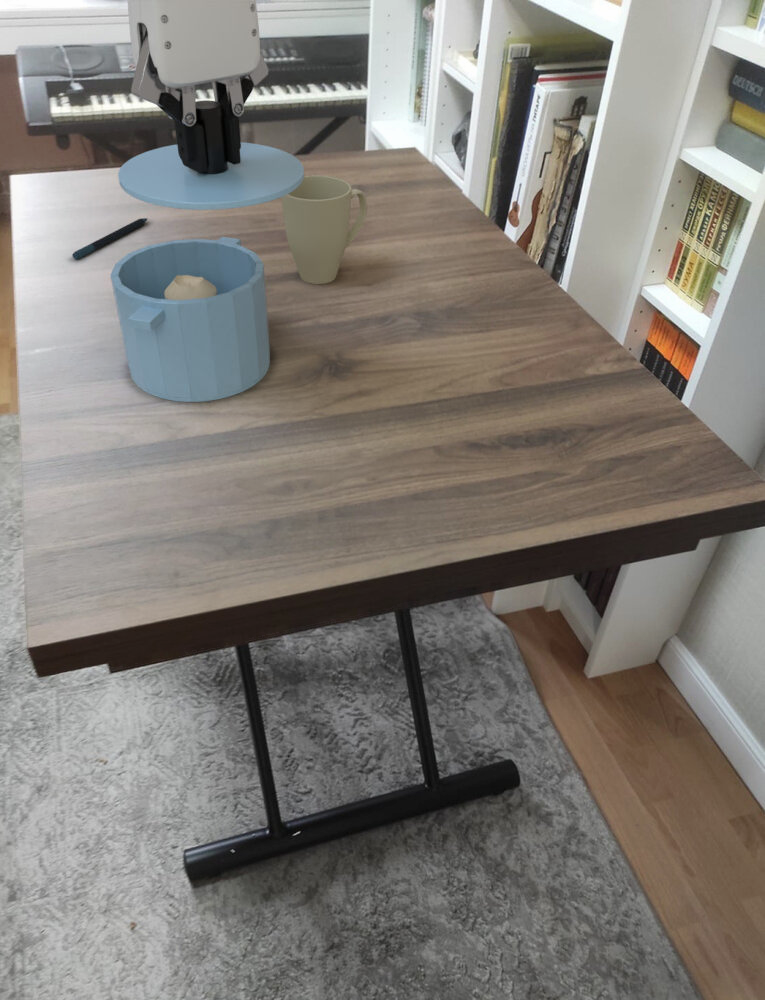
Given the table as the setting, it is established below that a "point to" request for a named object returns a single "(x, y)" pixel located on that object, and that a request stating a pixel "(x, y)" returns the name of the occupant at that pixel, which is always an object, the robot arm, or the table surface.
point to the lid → (211, 172)
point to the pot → (193, 319)
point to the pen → (108, 238)
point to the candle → (189, 288)
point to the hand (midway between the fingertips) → (211, 162)
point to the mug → (320, 225)
